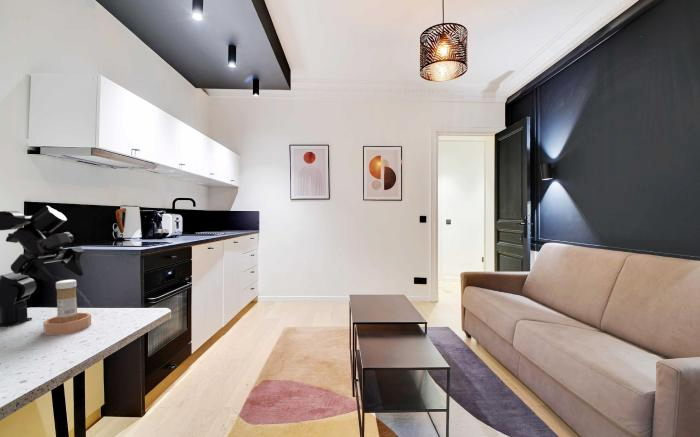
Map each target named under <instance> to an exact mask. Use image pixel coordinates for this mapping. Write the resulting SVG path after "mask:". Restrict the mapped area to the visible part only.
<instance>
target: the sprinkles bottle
mask: <svg viewBox="0 0 700 437" xmlns="http://www.w3.org/2000/svg"><path fill="white" fill-rule="evenodd" d="M77 286H78V284H77V280H76V279H64V280H59V281H55V289H56V304H57V305H56V311H57V316H58V324H59V323H67V322H72V321H76V320H77V313H78V303H77Z"/></svg>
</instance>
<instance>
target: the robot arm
mask: <svg viewBox="0 0 700 437" xmlns="http://www.w3.org/2000/svg"><path fill="white" fill-rule="evenodd" d="M67 220H68V218H67V217H66V216H65V215H64V214H63V213H62V212H60V211H58V210H57V209H54V208H52V207H51V206H50V205H44V206H43V207H41V208H40V209H39V210H38V211H37V212H35V213H34V214H33V215H25V214H24V213H22V212H20V211H18V210H10V211H8V210H3V211H0V231H9V230H10V231H11V230H15V231H14V232H12V233H11V232H10V233H8V234H7V236H6V238H5V242H7V243H13V244H17V243H19V245H20V246H22V247H23V249H24V251H23V253H21V254H19V255H18V256H17V257H16V258H15V260H14V261H13V263H11V264H10V270H11V271H12V272H8V273H5V274H2V275H0V327H13V326H15V325H18V324H20V323H24V322H29V321H32V320H33V317H28V306H27V300H30V297H31V295H32V294H33V293H34V292H35V290H36V289H37V283H36V280H35V279H39V280H42V281H45V282H48V283H51V284H54V283H56V279H55V277H54V276H53V275H52V273H51V272H50V271H49V270H48V269H47V267H46V266H45V264H47V263H48V264H49V263H55V262H60V263H61V265H63V267H64V268H66V269H67V270H68V271H70V272H72V273H73V274H75V275H77V276H79V277H83V276H84V272H83V271H84V270H83V268H82V265H81V261H80V259H81V258H82V257H83V255H84V254H85V252H86V251H85V249H83V248H82V247H81V246H75V247H68V248H67V249H66V250H65V251H64V252H63V253H60V252H61V251H63V249H64V246H66V245H68V244H69V245H70V244H71V243H72V242H73V241H74V240H75V238H74V235H73V234H71V232H69V231H66V232H62V233H54V234H52V235H50V236H48V237H46V236H45V235H44V234H43V233H52V232H54V230H56V229H57V228H59V227H60V226H61V225H62V224H63V223H65V222H66V221H67ZM31 277H32V278H31Z"/></svg>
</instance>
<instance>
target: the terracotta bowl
mask: <svg viewBox="0 0 700 437" xmlns="http://www.w3.org/2000/svg"><path fill="white" fill-rule="evenodd" d="M91 325H92V314H91V313H89V312H77V320H76V321H72V322H67V323H59V324H58V315H57V316H54V317H50V318H47V319H46V320H44V321H43V334H44V335H45V336H59V335H67V334H71V333H76V332H80V331H83V330H85V329H87V327H88V328H89V327H90V326H91Z"/></svg>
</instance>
